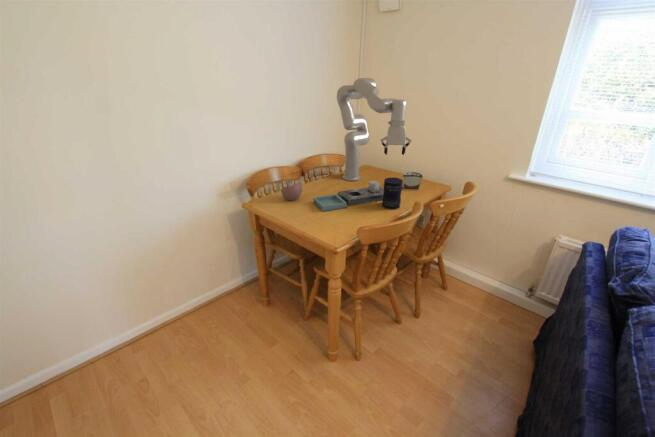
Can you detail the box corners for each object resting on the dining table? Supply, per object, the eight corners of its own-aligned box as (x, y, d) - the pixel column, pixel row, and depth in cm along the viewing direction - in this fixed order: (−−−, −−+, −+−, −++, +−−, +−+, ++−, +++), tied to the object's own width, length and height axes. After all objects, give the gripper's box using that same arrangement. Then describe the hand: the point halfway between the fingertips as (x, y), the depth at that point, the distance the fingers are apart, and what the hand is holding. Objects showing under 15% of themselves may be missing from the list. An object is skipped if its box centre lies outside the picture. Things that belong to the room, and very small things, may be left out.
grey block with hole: (337, 197, 180) (337, 191, 178) (378, 191, 189) (378, 185, 188) (348, 205, 168) (348, 200, 166) (390, 198, 178) (391, 193, 176)
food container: (419, 186, 197) (421, 171, 193) (420, 190, 191) (423, 174, 187) (400, 186, 198) (401, 171, 194) (401, 189, 192) (402, 174, 188)
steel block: (367, 195, 182) (368, 181, 178) (374, 194, 183) (375, 180, 180) (371, 198, 178) (372, 184, 174) (378, 197, 180) (379, 183, 176)
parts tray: (313, 202, 172) (313, 197, 171) (335, 198, 177) (336, 194, 176) (322, 211, 161) (322, 206, 159) (346, 207, 166) (346, 202, 164)
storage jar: (396, 211, 162) (399, 184, 156) (379, 207, 167) (381, 181, 160) (402, 204, 170) (405, 179, 163) (386, 201, 174) (388, 176, 168)
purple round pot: (293, 194, 184) (292, 176, 179) (306, 199, 176) (306, 180, 171) (277, 199, 176) (276, 180, 171) (290, 205, 169) (289, 185, 164)
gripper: (382, 124, 164) (380, 155, 172) (414, 124, 164) (410, 156, 171) (380, 122, 171) (378, 152, 179) (411, 122, 171) (408, 153, 178)
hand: (394, 154), depth 175 cm, fingers open, 9 cm apart
